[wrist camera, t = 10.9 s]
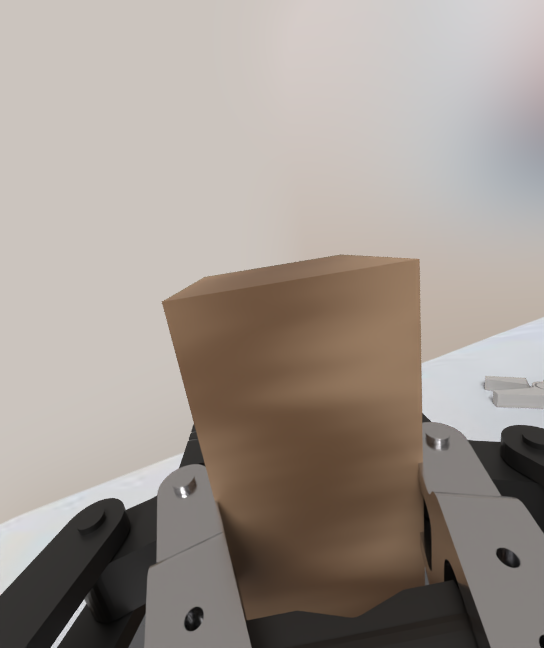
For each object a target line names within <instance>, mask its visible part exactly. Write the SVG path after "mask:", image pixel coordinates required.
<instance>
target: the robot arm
mask: <svg viewBox="0 0 544 648" xmlns="http://www.w3.org/2000/svg"><path fill="white" fill-rule="evenodd" d="M422 439H423V462H422V463H418V479H419V483H420V487H421V490H422V493H423V497H424V532H420V549H421V553H422V557H423V561H424V565H425V569H426V573H427V577H428V581H429V585H425V586H420V587H415V588H409V589H404V590H402V591H400V592H399V593H397V594H395V595H394V596H392V597H390V598H389V599H387V600H385V601H384V602H382V603H380V604H379V605H377V606H375V607H374V608H372V609H370V610H369V611H367V612H365V613H364V614H362V615H360V616H358V617H354V618H351V617H342V616H335V615H328V614H320V613H313V612H305V611H298V610H297V611H292V612H287V613H282V614H277V615H272V616H267V617H261V618H256V619H251V620H247V616H246V612H245V607H244V603H243V599H242V595H241V591H240V587H239V583H238V579H237V575H236V572H235V568H234V567H233V563H232V559H231V555H230V551H229V547H228V543H227V539H226V535H225V531H224V526H223V522H222V518H221V514H220V510H219V507H218V503H217V500H216V501H215V500H214V497H213V493H212V489H211V485H210V482H209V478H208V474H207V470H206V466H205V463H204V459H203V455H202V451H201V448H200V444H199V440H198V436H197V432H196V429H195V425H193V428H192V433H191V434H190V437H189V441H188V443H187V446H186V449H185V452H184V455H183V458H182V461H181V464H180V467H179V469H177V470H175V471H174V472H172V473H171V474H170V475H169V476H167V477H166V478H165V480H164V481H163V482H162V483H161V485H160V487H159V490H158V494H157V496H155V497H154V498H152V499H150V500H148V501H145V502H143V503H141V504H139V505H136V506H134V507H132V508H130V509H127V510H125V507H124V504H123V502H122V501H121V500H119V499H115V498H109V499H104V500H101V501H98V502H96V503H93V504H92V505H90V506H88V507H86V508H85V509H83V510H82V511H81V512H79V513H78V514H77V515H76V516H74V517H73V518H72V519H71V520H70V521H69V522H68V524H67V525H66V526H65V527H64V528H63V529H62V530H61V531H60V532H59V533H58V534H57V535H56V536H55V538H54V539H53V540H52V541H51V542H50V543H49V544H48V545H47V546H46V547H45V548H44V549H43V550H42V551H41V553H40V554H39V555H38V556H37V557H36V558H35V559H34V560H33V561H32V562H31V563H30V564H29V565H28V567H27V568H26V569H25V570H24V571H23V572H22V573H21V574H20V575H19V576H18V577H17V578H16V579H15V580H14V582H13V583H12V584H11V585H10V586H9V587H8V588H7V589H6V590H5V591H4V592H3V593H2V594H1V596H0V648H51V646H52V645H53V643H54V642H55V640H56V639H57V637H58V636H59V635H60V633H61V632H62V630H63V629H64V627H65V626H66V624H67V623H68V622H69V620H70V619H71V617H72V616H73V614H74V613H75V611H76V610H77V609H78V607H79V606H80V604H81V603H82V601H83V600H84V599H85V601H86V603H87V604H86V606H85V607H84V609H83V610H82V612H81V613H80V615H79V616H78V617H77V619H76V620H75V622H74V623H73V625H72V626H71V628H70V629H69V631H68V632H67V634H66V635H65V637H64V638H63V640H62V641H61V643H60V644H59V646H58V647H57V648H129V646H130V644H131V642H132V640H133V638H134V636H135V634H136V632H137V630H138V628H139V626H140V624H141V622H142V620H143V618H144V616H145V614H146V619H145V644H144V648H544V429H543V428H539V427H534V426H527V425H514V426H509V427H507V428H505V429H504V430H503V431H502V433H501V442H489V441H472V440H467V439H466V437H465V436H464V435H463V434H462V433H461V432H460V431H458V430H457V429H455V428H453V427H451V426H448V425H445V424H441V423H436V422H431V421H430V420H429V419H428V418H427V417H426V416H425V415H424V414H423V413H422Z"/></svg>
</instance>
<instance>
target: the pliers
mask: <svg viewBox="0 0 544 648" xmlns="http://www.w3.org/2000/svg"><path fill="white" fill-rule="evenodd" d="M485 390H489V391H493V404H494V405H495V406H496V407H503V408H531V409H543V408H544V380H543V381H542V382H534V383H532V386H529V384H528V382H527V380H526V378H515V377H495V376H485Z"/></svg>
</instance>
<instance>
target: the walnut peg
mask: <svg viewBox="0 0 544 648" xmlns="http://www.w3.org/2000/svg"><path fill="white" fill-rule="evenodd" d="M162 304H163V307H164V312H165V315H166V319H167V322H168V326H169V330H170V334H171V338H172V341H173V346H174V349H175V353H176V357H177V361H178V364H179V368H180V372H181V375H182V380H183V383H184V387H185V391H186V395H187V398H188V402H189V406H190V410H191V413H192V417H193V421H194V425H195V429H196V432H197V436H198V440H199V444H200V448H201V451H202V455H203V459H204V463H205V466H206V470H207V474H208V478H209V482H210V485H211V489H212V493H213V497H214V500H215V501H216V500H217V503H218V507H219V510H220V514H221V518H222V522H223V526H224V531H225V535H226V539H227V543H228V547H229V551H230V555H231V559H232V563H233V567H234V568H235V572H236V575H237V579H238V583H239V587H240V591H241V595H242V599H243V603H244V607H245V612H246V616H247V620H251V619H256V618H261V617H267V616H272V615H277V614H282V613H287V612H292V611H297V610H298V611H305V612H313V613H320V614H328V615H335V616H342V617H351V618H354V617H358V616H360V615H362V614H364V613H365V612H367V611H369V610H370V609H372V608H374V607H375V606H377V605H379V604H380V603H382V602H384V601H385V600H387V599H389V598H390V597H392V596H394V595H395V594H397V593H399V592H400V591H402V590H404V589H409V588H415V587H420V586H425V565H424V561H423V557H422V553H421V549H420V532H424V497H423V493H422V490H421V487H420V483H419V479H418V463H422V462H423V439H422V382H421V324H420V267H419V259H410V258H392V257H373V256H355V255H336V256H330V257H324V258H318V259H312V260H305V261H299V262H294V263H287V264H282V265H275V266H270V267H263V268H257V269H251V270H245V271H239V272H233V273H227V274H221V275H215V276H208V277H204V278H202V279H201V280H199V281H197V282H195V283H194V284H192V285H190V286H188V287H187V288H185V289H183V290H182V291H180V292H178V293H176V294H175V295H173V296H171V297H169V298H168V299H166V300H164V301H162Z"/></svg>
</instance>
